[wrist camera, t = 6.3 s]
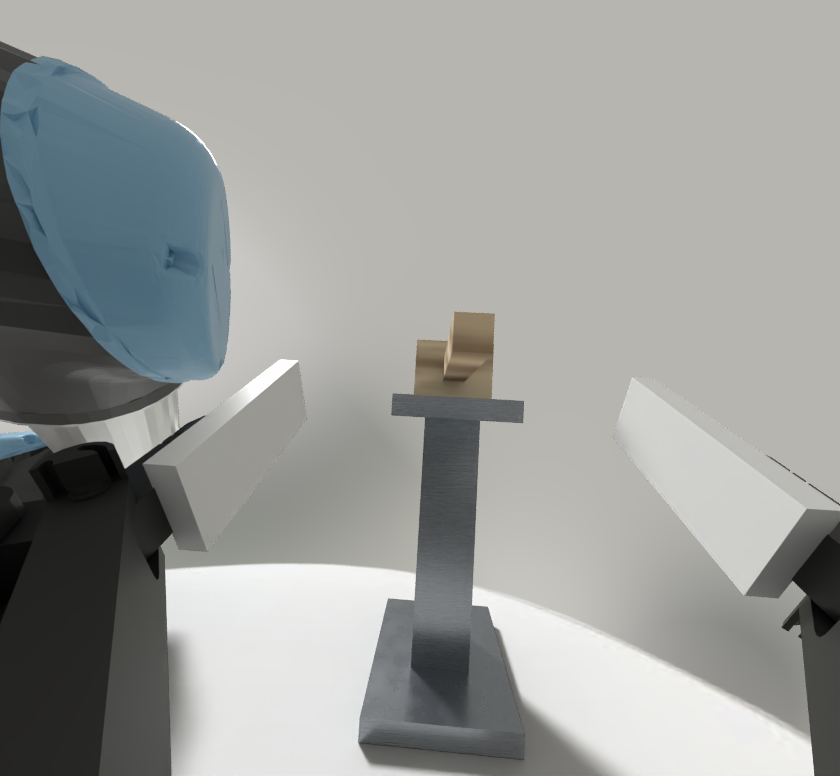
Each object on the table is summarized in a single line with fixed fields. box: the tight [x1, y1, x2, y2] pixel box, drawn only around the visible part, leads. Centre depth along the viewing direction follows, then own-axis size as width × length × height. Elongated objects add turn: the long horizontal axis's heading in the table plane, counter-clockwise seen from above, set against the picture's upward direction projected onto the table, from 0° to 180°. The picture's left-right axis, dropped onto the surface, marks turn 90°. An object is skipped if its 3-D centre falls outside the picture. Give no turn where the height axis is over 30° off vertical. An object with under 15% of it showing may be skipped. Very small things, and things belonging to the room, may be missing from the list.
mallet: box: [414, 312, 495, 399], centre depth 34 cm, size 28×9×7 cm, turn 178°
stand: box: [358, 394, 525, 760], centre depth 38 cm, size 18×14×30 cm
